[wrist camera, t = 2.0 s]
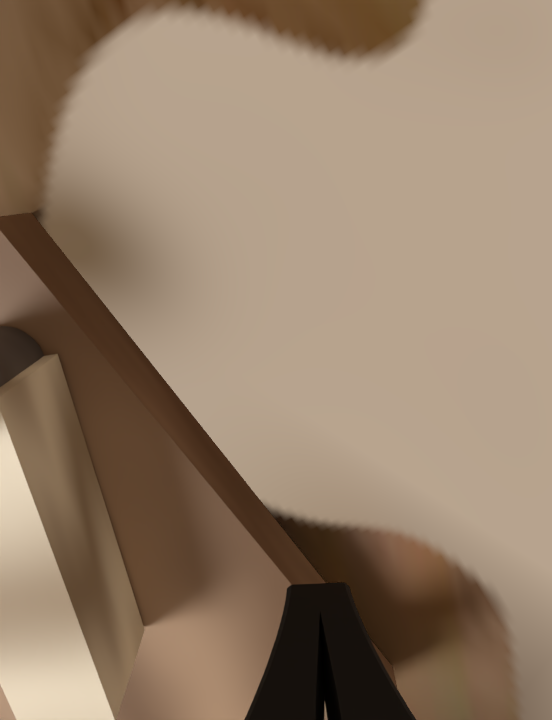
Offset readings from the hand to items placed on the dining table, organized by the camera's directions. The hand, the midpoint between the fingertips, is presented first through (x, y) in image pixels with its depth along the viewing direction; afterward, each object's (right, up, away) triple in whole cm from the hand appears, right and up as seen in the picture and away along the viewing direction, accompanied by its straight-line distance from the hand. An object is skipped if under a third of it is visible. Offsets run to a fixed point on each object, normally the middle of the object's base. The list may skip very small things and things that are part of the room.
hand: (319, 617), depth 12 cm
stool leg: (-7, +2, +2) cm, 8 cm away
